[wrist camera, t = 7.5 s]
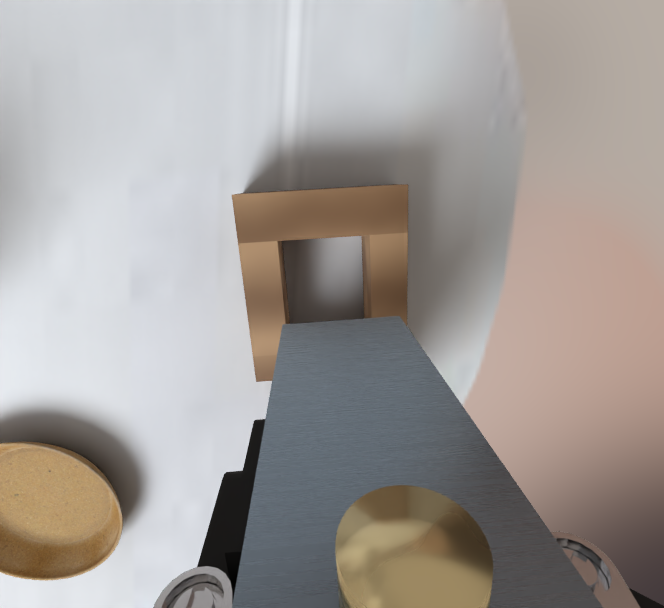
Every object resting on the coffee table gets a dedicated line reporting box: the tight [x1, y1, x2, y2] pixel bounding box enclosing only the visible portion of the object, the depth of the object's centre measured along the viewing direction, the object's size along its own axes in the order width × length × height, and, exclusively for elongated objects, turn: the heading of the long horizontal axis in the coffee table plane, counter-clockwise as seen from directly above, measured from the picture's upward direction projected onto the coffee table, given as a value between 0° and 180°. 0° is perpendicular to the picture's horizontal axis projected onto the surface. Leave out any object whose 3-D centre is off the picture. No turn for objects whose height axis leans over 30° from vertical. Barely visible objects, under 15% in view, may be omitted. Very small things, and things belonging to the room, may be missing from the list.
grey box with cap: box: [232, 316, 603, 608], centre depth 8 cm, size 7×4×12 cm, turn 3°
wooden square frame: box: [232, 184, 408, 382], centre depth 21 cm, size 20×11×20 cm, turn 3°
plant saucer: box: [0, 442, 123, 580], centre depth 33 cm, size 15×15×3 cm
